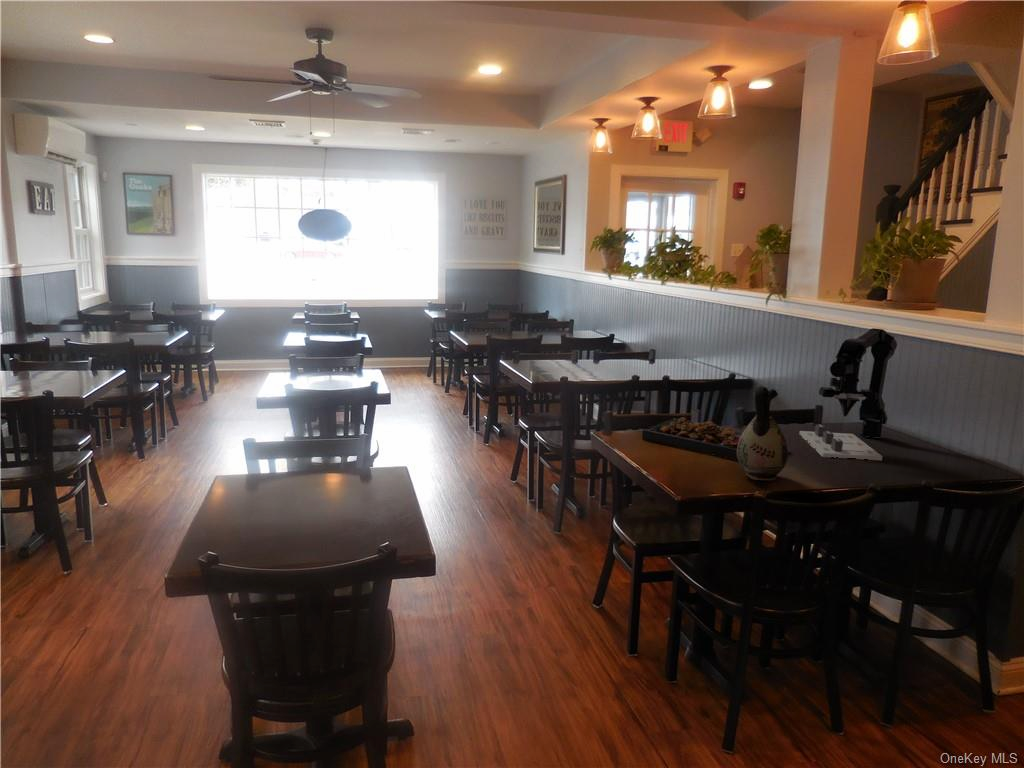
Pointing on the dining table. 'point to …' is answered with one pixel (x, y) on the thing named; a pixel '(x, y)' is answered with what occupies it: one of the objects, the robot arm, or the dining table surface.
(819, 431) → the block
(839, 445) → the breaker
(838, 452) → the switch panel
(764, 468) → the ceramic jug
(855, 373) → the robot arm
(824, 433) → the block
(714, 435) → the food platter
